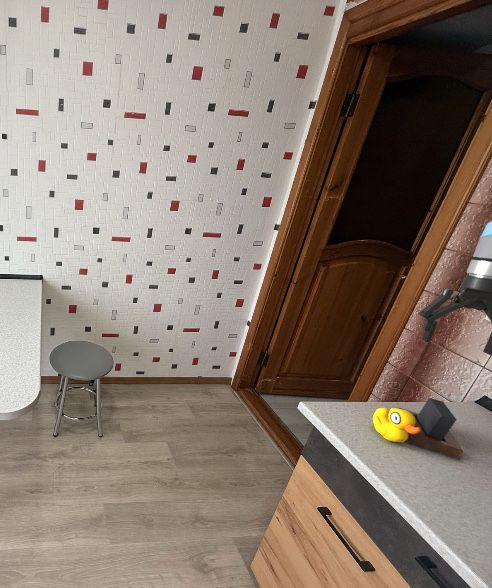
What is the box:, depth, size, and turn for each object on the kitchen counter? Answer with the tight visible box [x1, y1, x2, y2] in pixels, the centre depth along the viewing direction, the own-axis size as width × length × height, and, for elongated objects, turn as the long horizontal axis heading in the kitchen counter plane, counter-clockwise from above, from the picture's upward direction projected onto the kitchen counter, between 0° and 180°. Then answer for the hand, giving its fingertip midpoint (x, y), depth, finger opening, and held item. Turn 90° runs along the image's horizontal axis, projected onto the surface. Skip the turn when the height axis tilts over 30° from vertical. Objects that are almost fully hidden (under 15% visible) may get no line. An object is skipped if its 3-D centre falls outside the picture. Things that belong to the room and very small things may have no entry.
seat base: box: [398, 407, 464, 460], centre depth 93 cm, size 10×12×3 cm
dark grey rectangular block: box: [416, 397, 457, 441], centre depth 91 cm, size 3×8×10 cm, turn 152°
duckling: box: [372, 407, 421, 443], centre depth 89 cm, size 11×5×10 cm, turn 175°
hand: (455, 347), depth 97 cm, fingers open, 13 cm apart
